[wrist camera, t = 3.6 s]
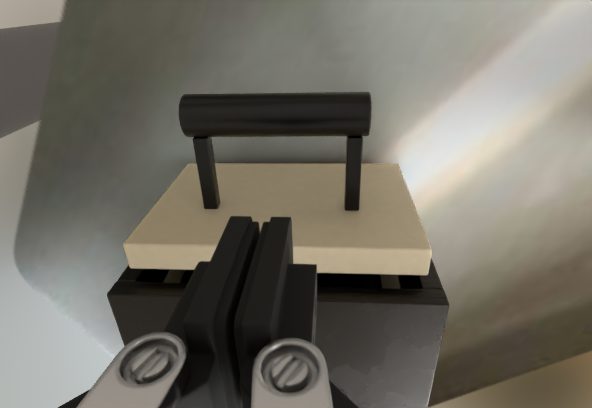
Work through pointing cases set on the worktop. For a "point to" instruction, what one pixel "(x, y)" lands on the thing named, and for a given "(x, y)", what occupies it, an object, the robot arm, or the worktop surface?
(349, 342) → the black rectangular box
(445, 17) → the worktop surface
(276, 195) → the beige drawer
